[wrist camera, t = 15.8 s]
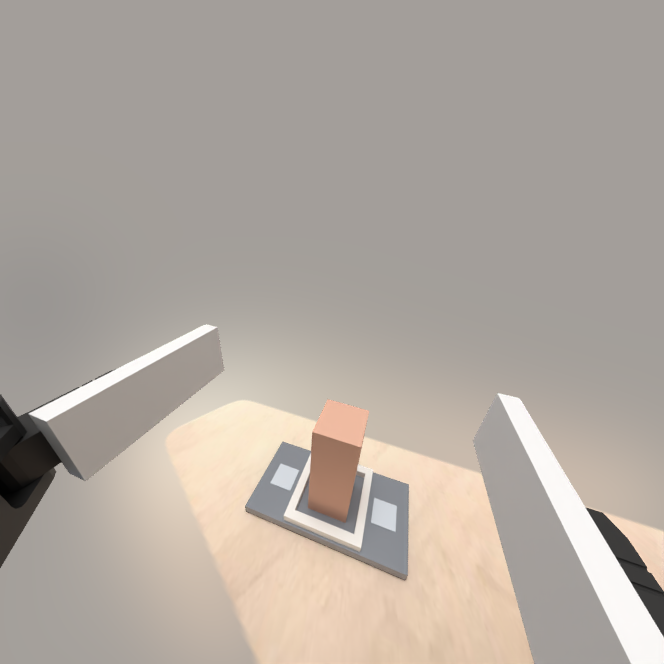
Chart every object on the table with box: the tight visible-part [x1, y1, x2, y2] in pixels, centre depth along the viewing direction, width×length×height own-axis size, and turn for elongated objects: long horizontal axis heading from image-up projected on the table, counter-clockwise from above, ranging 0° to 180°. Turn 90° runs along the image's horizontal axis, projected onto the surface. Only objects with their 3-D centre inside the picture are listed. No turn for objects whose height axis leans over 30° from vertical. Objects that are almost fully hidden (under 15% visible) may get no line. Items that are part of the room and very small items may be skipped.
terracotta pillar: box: [308, 400, 369, 523], centre depth 28 cm, size 5×5×14 cm
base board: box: [245, 442, 409, 580], centre depth 32 cm, size 20×10×2 cm, turn 73°
